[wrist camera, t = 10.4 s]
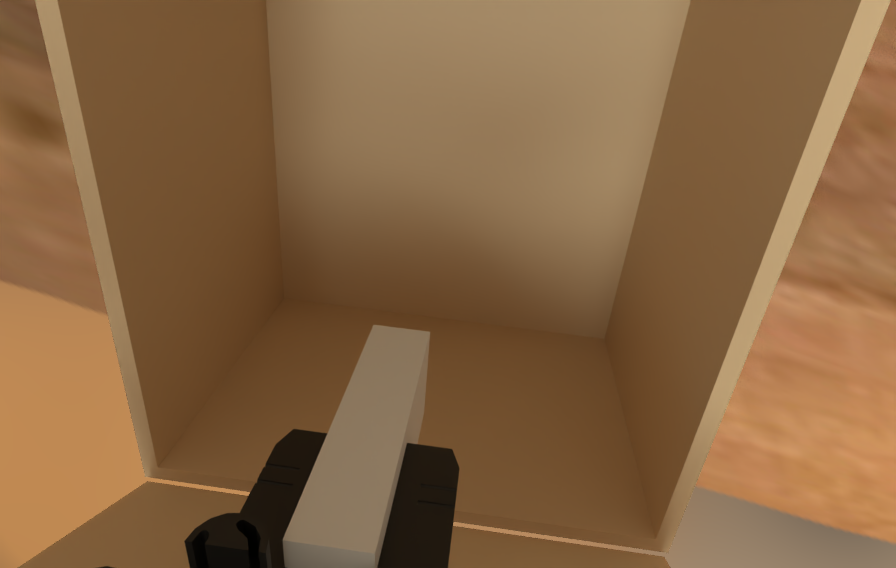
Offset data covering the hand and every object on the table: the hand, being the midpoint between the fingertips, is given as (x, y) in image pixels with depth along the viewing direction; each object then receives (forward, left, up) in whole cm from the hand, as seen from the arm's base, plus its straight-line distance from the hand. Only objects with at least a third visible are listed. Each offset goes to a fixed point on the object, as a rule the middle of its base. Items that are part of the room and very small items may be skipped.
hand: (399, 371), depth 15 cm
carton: (-4, 0, -17) cm, 17 cm away
